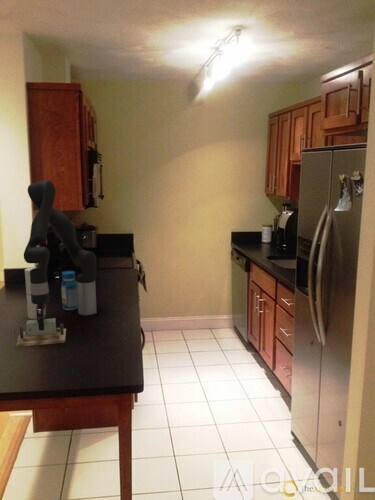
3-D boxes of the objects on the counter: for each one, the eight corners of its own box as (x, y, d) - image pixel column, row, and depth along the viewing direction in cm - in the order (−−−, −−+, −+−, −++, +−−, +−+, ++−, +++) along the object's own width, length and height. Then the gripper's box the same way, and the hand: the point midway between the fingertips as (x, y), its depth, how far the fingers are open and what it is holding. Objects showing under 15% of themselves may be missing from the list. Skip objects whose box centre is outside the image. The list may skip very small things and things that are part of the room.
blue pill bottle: (74, 310, 233) (72, 274, 229) (59, 309, 235) (57, 273, 231) (80, 306, 241) (79, 270, 237) (66, 305, 243) (64, 270, 239)
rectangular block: (56, 332, 200) (55, 318, 198) (55, 337, 194) (54, 322, 193) (28, 335, 197) (27, 320, 196) (27, 340, 191) (25, 324, 190)
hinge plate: (66, 330, 205) (65, 318, 204) (64, 342, 192) (64, 329, 191) (20, 334, 201) (19, 321, 199) (16, 346, 187) (15, 333, 186)
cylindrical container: (27, 319, 220) (24, 271, 215) (28, 314, 227) (25, 267, 222) (42, 318, 222) (39, 270, 217) (43, 313, 229) (40, 267, 224)
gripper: (47, 295, 186) (50, 331, 189) (49, 286, 200) (52, 320, 203) (28, 297, 184) (31, 333, 188) (32, 287, 198) (35, 321, 201)
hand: (42, 326), depth 195 cm, fingers open, 8 cm apart
